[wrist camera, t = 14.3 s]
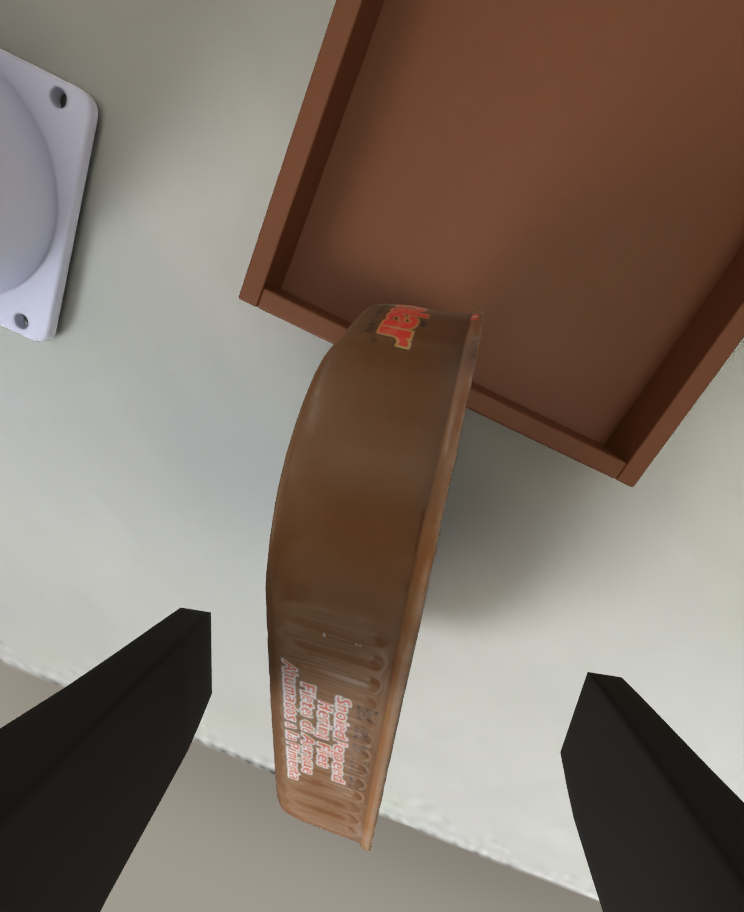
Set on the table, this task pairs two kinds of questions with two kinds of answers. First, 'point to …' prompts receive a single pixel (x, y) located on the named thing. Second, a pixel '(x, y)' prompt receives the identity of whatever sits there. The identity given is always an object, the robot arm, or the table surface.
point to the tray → (528, 203)
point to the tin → (360, 553)
